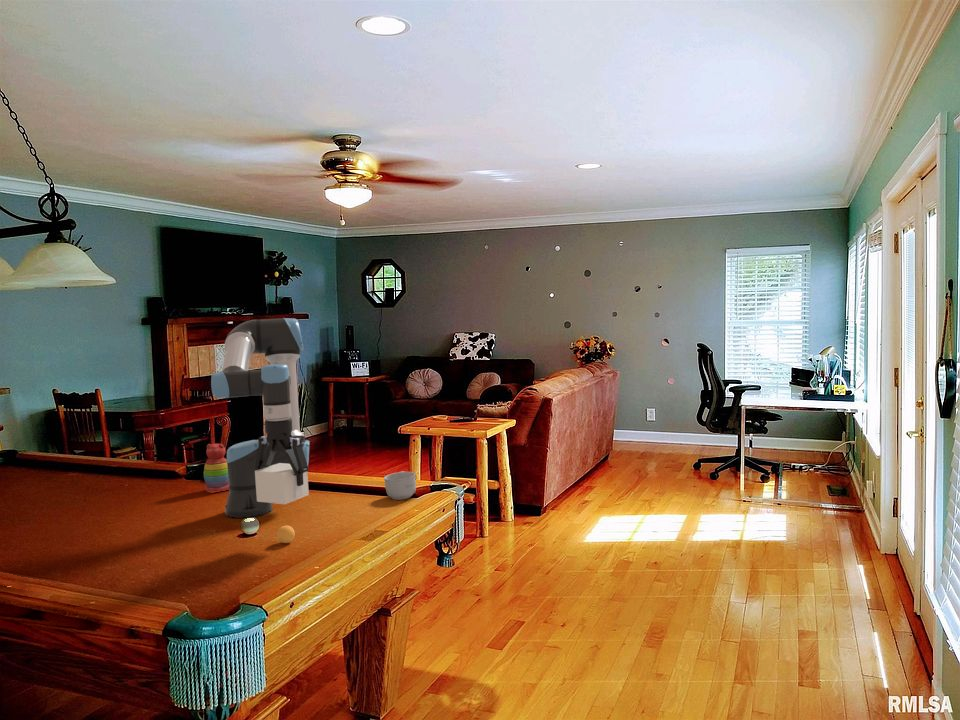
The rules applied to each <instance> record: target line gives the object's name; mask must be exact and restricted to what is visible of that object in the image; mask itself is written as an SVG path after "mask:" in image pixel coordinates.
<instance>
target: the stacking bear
mask: <svg viewBox="0 0 960 720" xmlns="http://www.w3.org/2000/svg"><path fill="white" fill-rule="evenodd" d="M205 453H206V457H207V458H208V459H207V460H206V461H205V463H204V469H203V479H204V482H205V486H206V487H205V491H206V490H208V491H223V490H228V489H229V481H228V467H227V462H226V461H227V458H226V457H225V455H226V453H227V449H226V447H225V446H224V445H223V443H213V444H211V443H208V444H207V445H206V451H205Z"/></svg>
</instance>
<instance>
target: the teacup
mask: <svg viewBox="0 0 960 720" xmlns="http://www.w3.org/2000/svg"><path fill="white" fill-rule="evenodd" d="M383 480H384V486H385V490H386V491H385V492H386V494H387V496H388V497H390V498H391V499H393V500H397V501H398V500H399V501H402V500H405V499H406V500H407V499H410V498H411V497H412V496H413V495H414V494H415V493H416V490H417V482H416V481H417V480H416V473H415V472H413V471H403V470H402V471H399V472H392V473H390V474H387V475H385V476H384V477H383Z"/></svg>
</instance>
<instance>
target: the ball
mask: <svg viewBox="0 0 960 720" xmlns="http://www.w3.org/2000/svg"><path fill="white" fill-rule="evenodd" d="M295 533H296V532H295V530H294V528H293V526H291V525H282V526H280V527H279V528H278V530H277V532H276V538H277V540H278V542H280V543H282V544H289V543H291V542H292V541H293V540H294V538H295V536H296V534H295Z"/></svg>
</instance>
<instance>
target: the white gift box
mask: <svg viewBox="0 0 960 720" xmlns="http://www.w3.org/2000/svg"><path fill="white" fill-rule="evenodd" d="M294 474H295V473H294V471H293V469H292V467H291V465H290V464H286V463H278V464H275V465H272V466H269V467H265V468H262V469H259V470H256V471H255V481H256V495H257V502H267V503H272V504H278V505H288V504H290V503H292V502H294V501H297V500H300V499H302V498H305V497H307V496H309V495H310V491H309V478H308V477H309V476H308V475H309V474H308V471H307V472H304V473H303V485H302V495H303V496H300V497H298V498H294V487H293V475H294Z"/></svg>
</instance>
